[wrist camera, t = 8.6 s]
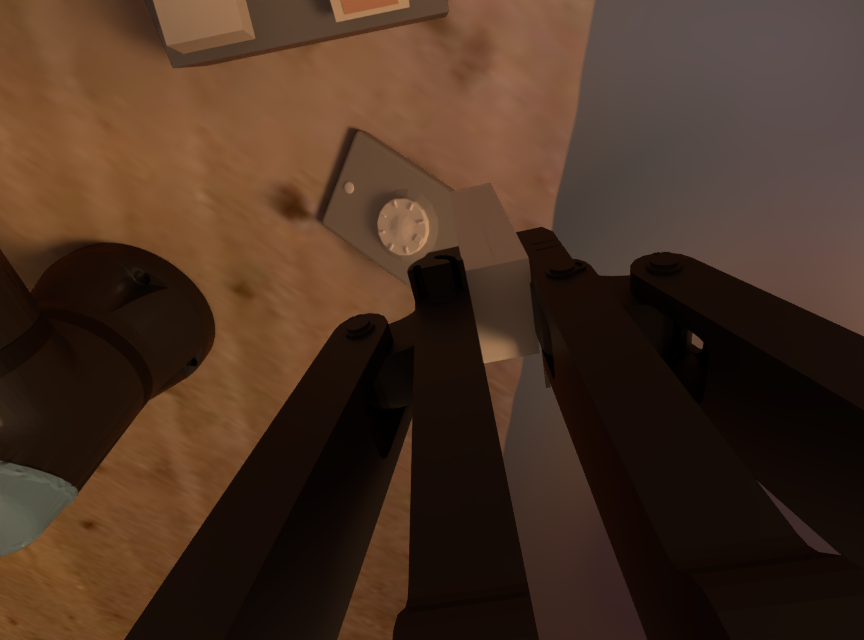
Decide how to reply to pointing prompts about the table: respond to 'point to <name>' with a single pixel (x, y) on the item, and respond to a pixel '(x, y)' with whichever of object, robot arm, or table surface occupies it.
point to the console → (298, 27)
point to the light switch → (390, 207)
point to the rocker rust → (364, 7)
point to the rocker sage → (203, 23)
